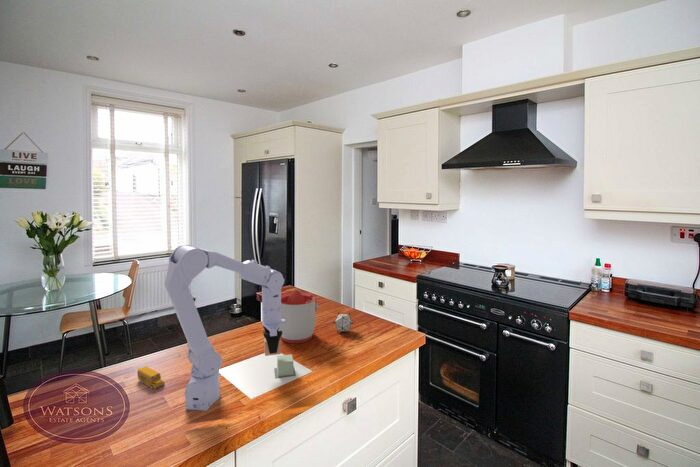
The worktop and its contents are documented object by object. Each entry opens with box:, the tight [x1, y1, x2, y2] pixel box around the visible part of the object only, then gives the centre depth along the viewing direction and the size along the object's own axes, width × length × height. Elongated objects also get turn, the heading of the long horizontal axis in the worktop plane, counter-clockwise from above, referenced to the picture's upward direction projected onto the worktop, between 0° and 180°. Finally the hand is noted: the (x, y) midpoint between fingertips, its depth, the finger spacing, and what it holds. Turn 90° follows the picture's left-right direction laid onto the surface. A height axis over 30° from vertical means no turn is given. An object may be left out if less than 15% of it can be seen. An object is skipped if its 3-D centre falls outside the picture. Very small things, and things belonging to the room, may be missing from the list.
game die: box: [332, 312, 355, 334], centre depth 148 cm, size 9×8×10 cm
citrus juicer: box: [278, 290, 321, 344], centre depth 139 cm, size 16×17×20 cm
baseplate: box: [219, 352, 313, 400], centre depth 113 cm, size 22×22×1 cm
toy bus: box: [137, 366, 165, 390], centre depth 107 cm, size 3×10×4 cm, turn 57°
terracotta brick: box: [263, 336, 282, 356], centre depth 111 cm, size 5×5×4 cm
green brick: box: [277, 353, 294, 377], centre depth 112 cm, size 5×5×4 cm
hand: (272, 349), depth 111 cm, fingers closed on terracotta brick, 5 cm apart
